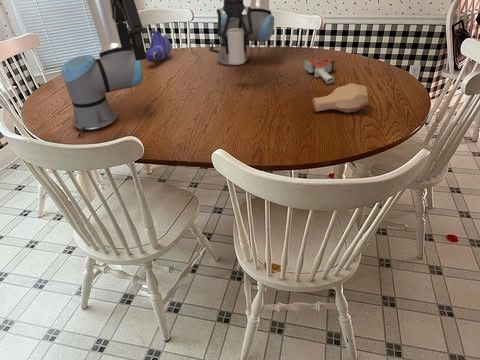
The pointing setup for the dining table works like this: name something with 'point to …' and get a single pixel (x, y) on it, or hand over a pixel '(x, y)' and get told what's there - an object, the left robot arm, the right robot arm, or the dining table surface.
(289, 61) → the dining table surface
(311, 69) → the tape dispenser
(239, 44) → the can
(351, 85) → the squash
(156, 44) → the toy
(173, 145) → the dining table surface
